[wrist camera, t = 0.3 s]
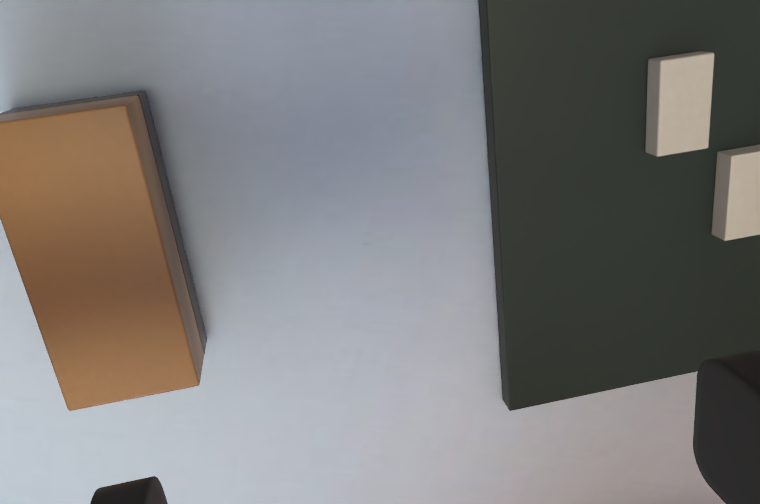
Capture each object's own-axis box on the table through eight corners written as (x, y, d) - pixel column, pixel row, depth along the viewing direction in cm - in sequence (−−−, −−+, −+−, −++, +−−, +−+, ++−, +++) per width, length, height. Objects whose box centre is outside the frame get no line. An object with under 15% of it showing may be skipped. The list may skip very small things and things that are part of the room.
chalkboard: (476, -24, 26) (485, -25, 25) (880, -76, 28) (901, -79, 27) (502, 400, 33) (509, 411, 32) (820, 333, 35) (835, 342, 34)
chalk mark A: (647, 58, 27) (660, 60, 26) (700, 51, 27) (715, 52, 26) (644, 152, 29) (657, 157, 28) (694, 144, 29) (709, 148, 28)
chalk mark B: (716, 151, 29) (731, 156, 28) (765, 143, 29) (781, 147, 29) (710, 234, 31) (724, 241, 30) (757, 225, 31) (772, 232, 30)
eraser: (10, 108, 25) (-34, 126, 21) (145, 89, 25) (126, 103, 21) (92, 360, 29) (67, 412, 25) (207, 338, 29) (199, 386, 25)
